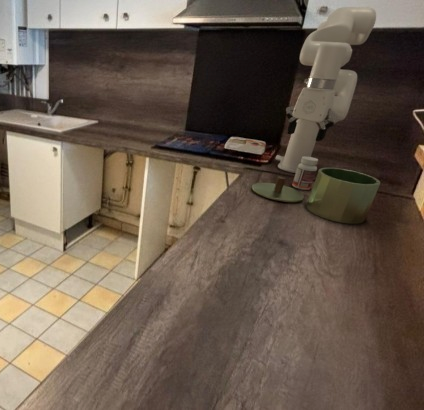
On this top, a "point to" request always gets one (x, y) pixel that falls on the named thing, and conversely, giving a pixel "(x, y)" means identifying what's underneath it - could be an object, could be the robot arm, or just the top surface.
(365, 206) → the tin
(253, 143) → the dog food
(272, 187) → the tin lid
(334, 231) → the top surface
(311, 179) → the pill bottle
